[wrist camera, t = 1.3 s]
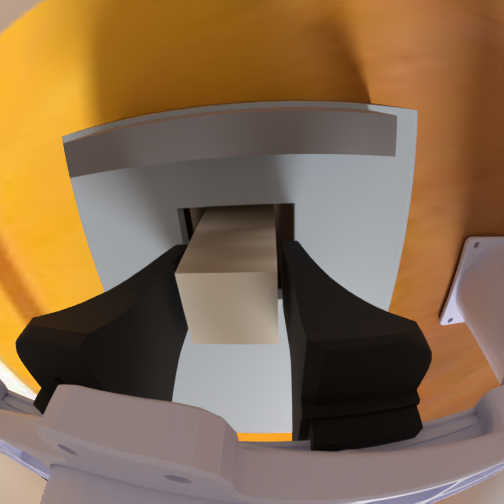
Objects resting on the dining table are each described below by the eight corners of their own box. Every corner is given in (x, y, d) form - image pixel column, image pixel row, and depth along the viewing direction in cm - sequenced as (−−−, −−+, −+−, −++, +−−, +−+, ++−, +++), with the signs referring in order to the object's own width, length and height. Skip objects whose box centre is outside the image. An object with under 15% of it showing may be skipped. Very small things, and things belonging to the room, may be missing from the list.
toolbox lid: (408, 108, 9) (453, 117, 7) (345, 419, 20) (349, 454, 17) (72, 133, 10) (24, 150, 8) (173, 419, 21) (166, 452, 18)
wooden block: (273, 199, 14) (277, 271, 8) (275, 255, 15) (278, 344, 10) (209, 202, 14) (174, 273, 9) (216, 257, 15) (192, 343, 10)
